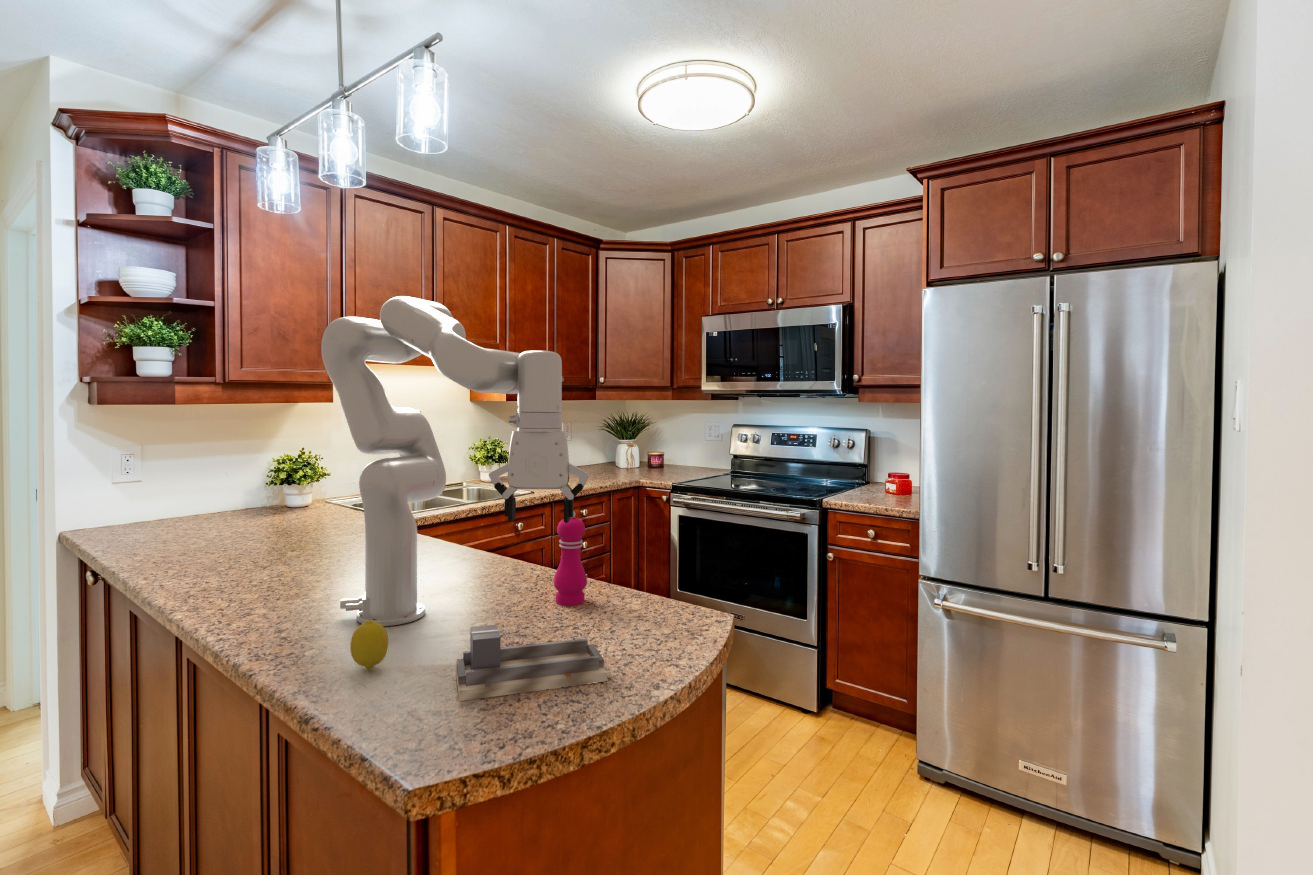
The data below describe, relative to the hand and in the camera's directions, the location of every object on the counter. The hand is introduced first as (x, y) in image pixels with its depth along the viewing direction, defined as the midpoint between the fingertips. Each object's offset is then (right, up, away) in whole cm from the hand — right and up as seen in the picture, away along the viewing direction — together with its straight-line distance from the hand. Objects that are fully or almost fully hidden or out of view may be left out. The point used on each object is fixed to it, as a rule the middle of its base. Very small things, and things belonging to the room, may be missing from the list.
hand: (539, 521), depth 112 cm
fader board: (+1, -23, -11) cm, 25 cm away
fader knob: (-6, -21, -13) cm, 26 cm away
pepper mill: (+2, -21, +28) cm, 35 cm away
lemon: (-25, -23, -9) cm, 35 cm away
